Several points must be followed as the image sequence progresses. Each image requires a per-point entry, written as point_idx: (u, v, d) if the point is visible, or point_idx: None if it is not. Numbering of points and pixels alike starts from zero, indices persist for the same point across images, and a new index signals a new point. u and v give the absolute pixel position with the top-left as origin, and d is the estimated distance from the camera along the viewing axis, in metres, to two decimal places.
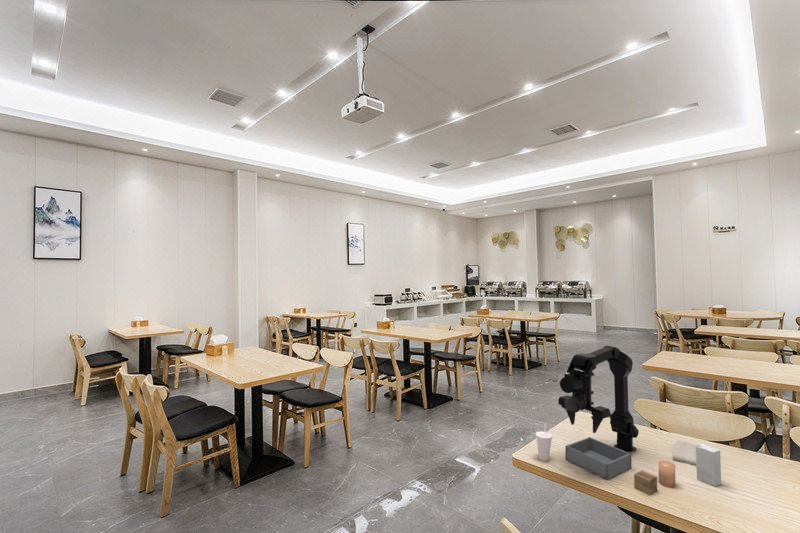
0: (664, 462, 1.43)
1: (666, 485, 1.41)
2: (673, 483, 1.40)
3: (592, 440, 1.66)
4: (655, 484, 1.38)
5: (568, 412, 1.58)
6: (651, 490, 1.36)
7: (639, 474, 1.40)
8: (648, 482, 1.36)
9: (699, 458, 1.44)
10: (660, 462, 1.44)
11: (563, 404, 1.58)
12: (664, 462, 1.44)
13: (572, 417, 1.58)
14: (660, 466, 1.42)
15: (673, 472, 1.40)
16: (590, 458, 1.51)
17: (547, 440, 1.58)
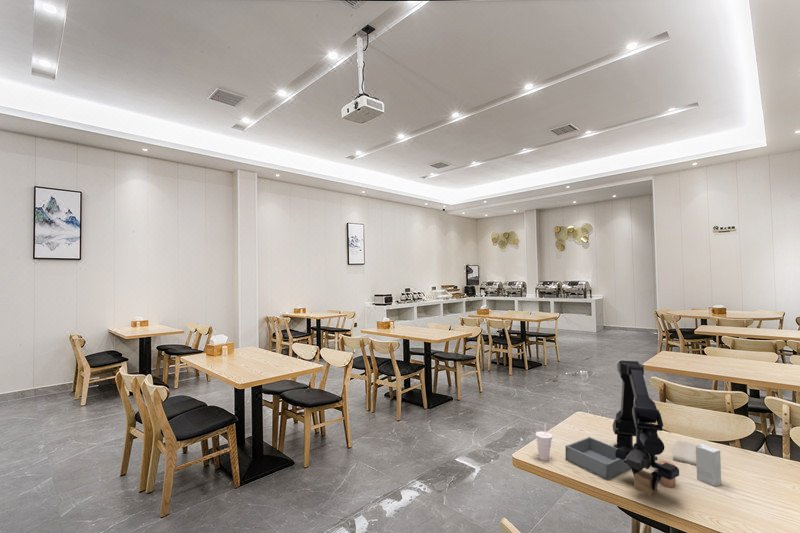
0: (663, 462, 1.43)
1: (666, 485, 1.41)
2: (673, 483, 1.40)
3: (592, 440, 1.66)
4: None
5: (633, 469, 1.41)
6: (651, 490, 1.36)
7: (639, 474, 1.40)
8: (648, 481, 1.36)
9: (699, 458, 1.44)
10: (660, 462, 1.44)
11: (622, 457, 1.43)
12: (664, 462, 1.44)
13: None
14: None
15: None
16: (590, 458, 1.51)
17: (547, 440, 1.58)
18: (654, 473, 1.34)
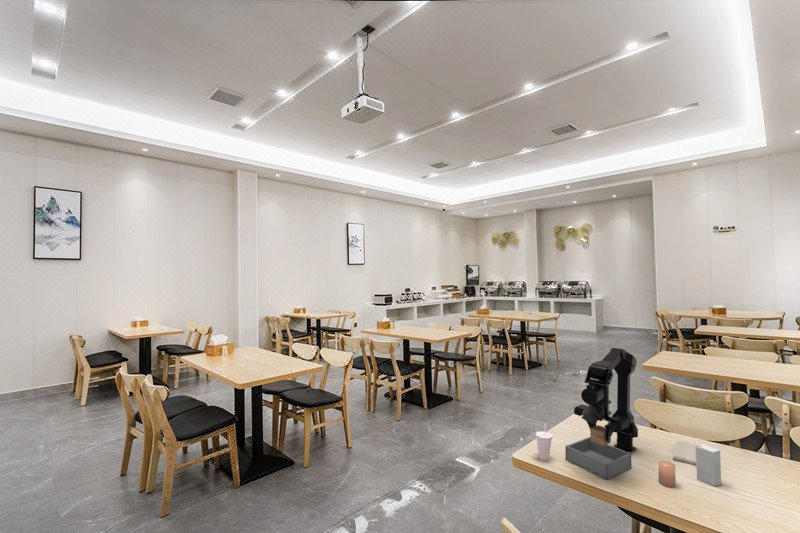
0: (664, 462, 1.43)
1: (666, 485, 1.41)
2: (673, 483, 1.40)
3: None
4: None
5: (589, 424, 1.54)
6: (605, 442, 1.49)
7: (595, 428, 1.52)
8: (602, 434, 1.49)
9: (699, 458, 1.44)
10: (660, 462, 1.44)
11: (579, 414, 1.56)
12: (664, 462, 1.44)
13: None
14: (660, 466, 1.42)
15: (673, 472, 1.40)
16: (590, 458, 1.51)
17: (547, 440, 1.58)
18: (607, 425, 1.47)
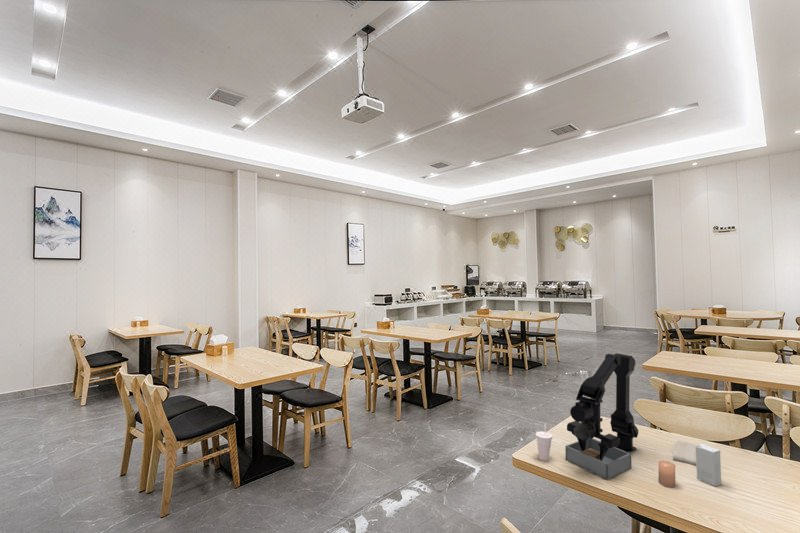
0: (663, 462, 1.43)
1: (666, 485, 1.41)
2: (673, 483, 1.40)
3: (592, 440, 1.66)
4: (600, 460, 1.53)
5: (579, 439, 1.58)
6: None
7: (586, 451, 1.55)
8: (593, 457, 1.51)
9: (699, 458, 1.44)
10: (660, 462, 1.44)
11: (572, 430, 1.58)
12: (664, 462, 1.44)
13: (583, 444, 1.58)
14: (660, 466, 1.42)
15: (673, 472, 1.40)
16: (590, 458, 1.51)
17: (547, 440, 1.58)
18: (601, 444, 1.49)
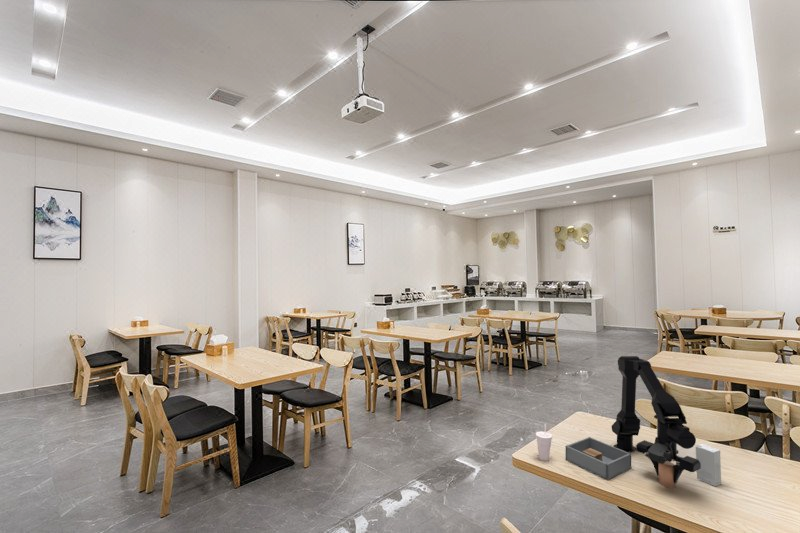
0: None
1: (666, 485, 1.41)
2: (673, 483, 1.40)
3: (592, 440, 1.66)
4: (600, 460, 1.53)
5: (654, 462, 1.45)
6: None
7: (586, 451, 1.55)
8: (593, 457, 1.51)
9: (699, 458, 1.44)
10: None
11: (643, 451, 1.46)
12: None
13: None
14: (660, 466, 1.42)
15: (673, 472, 1.40)
16: (590, 458, 1.51)
17: (547, 440, 1.58)
18: (676, 466, 1.38)
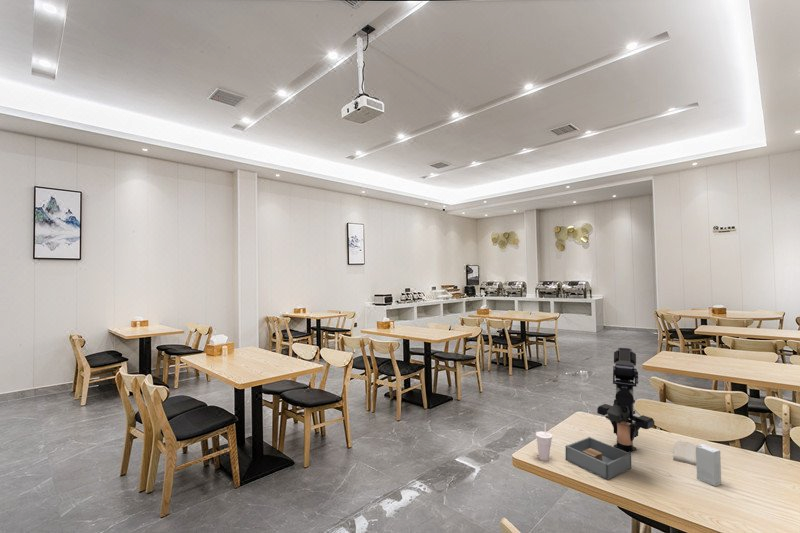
0: (622, 423, 1.53)
1: (624, 443, 1.50)
2: (630, 441, 1.50)
3: (592, 440, 1.66)
4: (600, 460, 1.53)
5: (613, 423, 1.55)
6: None
7: (586, 451, 1.55)
8: (593, 457, 1.51)
9: (699, 458, 1.44)
10: None
11: (603, 413, 1.56)
12: (622, 422, 1.53)
13: None
14: (618, 426, 1.52)
15: (630, 431, 1.50)
16: (590, 458, 1.51)
17: (547, 440, 1.58)
18: (632, 425, 1.48)
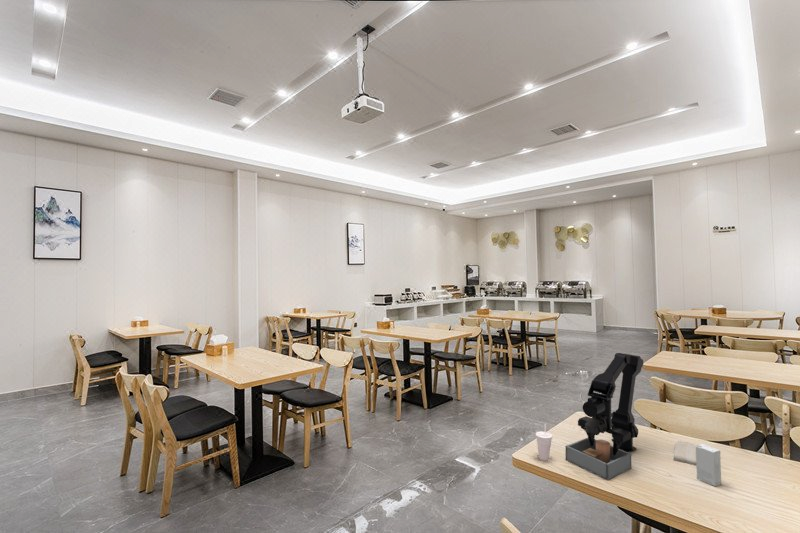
0: (600, 441, 1.59)
1: None
2: (607, 459, 1.56)
3: None
4: (600, 460, 1.53)
5: (588, 433, 1.62)
6: None
7: (586, 451, 1.55)
8: (593, 457, 1.51)
9: (699, 458, 1.44)
10: (597, 441, 1.59)
11: (583, 425, 1.62)
12: (601, 441, 1.59)
13: (592, 438, 1.62)
14: (596, 444, 1.58)
15: (607, 449, 1.56)
16: (590, 458, 1.51)
17: (547, 440, 1.58)
18: None
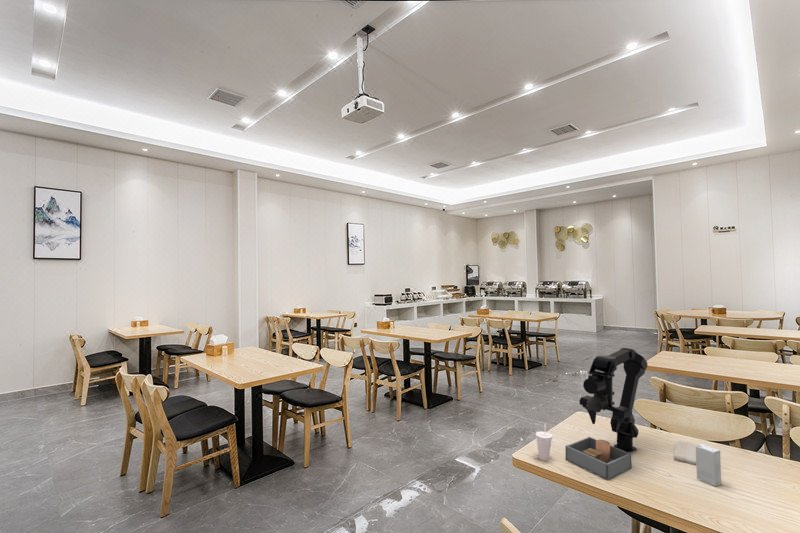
0: (600, 441, 1.59)
1: None
2: (607, 459, 1.56)
3: (592, 440, 1.66)
4: (600, 460, 1.53)
5: (589, 412, 1.64)
6: None
7: (586, 451, 1.55)
8: (593, 457, 1.51)
9: (699, 458, 1.44)
10: (597, 441, 1.59)
11: (584, 404, 1.64)
12: (601, 441, 1.59)
13: (593, 417, 1.64)
14: (597, 444, 1.58)
15: (607, 449, 1.56)
16: (590, 458, 1.51)
17: (547, 440, 1.58)
18: (615, 416, 1.54)
